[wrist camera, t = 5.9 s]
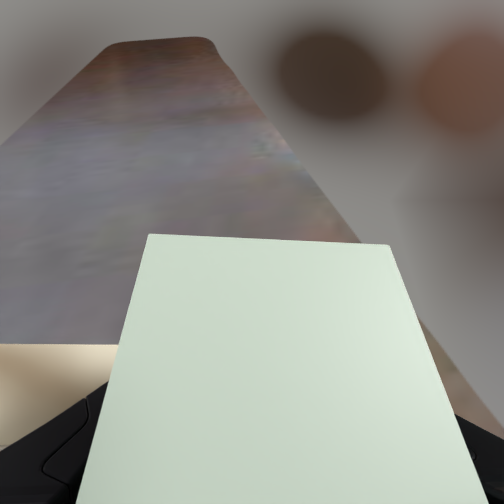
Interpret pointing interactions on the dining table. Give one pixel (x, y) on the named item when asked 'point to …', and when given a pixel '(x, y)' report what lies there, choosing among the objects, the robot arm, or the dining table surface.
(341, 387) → the peg
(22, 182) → the dining table surface
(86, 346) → the holder
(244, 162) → the dining table surface
